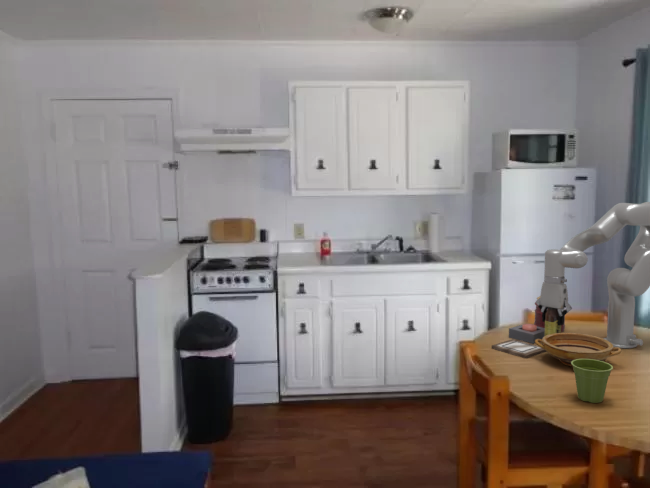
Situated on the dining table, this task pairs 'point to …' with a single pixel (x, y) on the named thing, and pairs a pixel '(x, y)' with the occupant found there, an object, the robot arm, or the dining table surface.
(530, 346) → the pad
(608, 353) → the ceramic bowl
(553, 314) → the sauce bottle
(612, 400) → the dining table surface
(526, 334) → the button housing
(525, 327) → the button
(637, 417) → the dining table surface
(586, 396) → the plant pot
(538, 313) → the canister
